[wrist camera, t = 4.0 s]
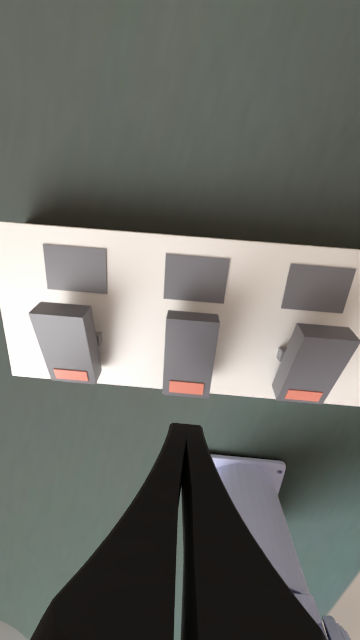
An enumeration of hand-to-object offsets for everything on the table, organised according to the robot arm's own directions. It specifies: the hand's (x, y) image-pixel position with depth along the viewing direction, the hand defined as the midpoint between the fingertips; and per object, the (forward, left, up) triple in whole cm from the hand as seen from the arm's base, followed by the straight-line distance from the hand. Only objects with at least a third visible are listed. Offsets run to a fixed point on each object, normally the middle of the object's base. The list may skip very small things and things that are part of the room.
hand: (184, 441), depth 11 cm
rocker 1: (+2, +7, -4) cm, 8 cm away
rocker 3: (+2, -7, -4) cm, 8 cm away
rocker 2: (+2, 0, -4) cm, 5 cm away
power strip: (+4, +2, -9) cm, 10 cm away
